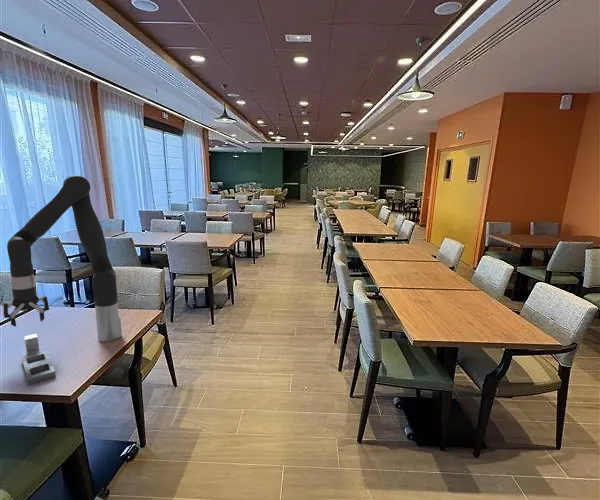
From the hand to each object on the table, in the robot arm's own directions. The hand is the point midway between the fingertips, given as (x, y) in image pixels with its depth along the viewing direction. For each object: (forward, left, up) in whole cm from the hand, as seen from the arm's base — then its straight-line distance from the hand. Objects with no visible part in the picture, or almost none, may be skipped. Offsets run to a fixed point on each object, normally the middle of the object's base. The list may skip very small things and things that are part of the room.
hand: (28, 323), depth 136 cm
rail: (0, +16, -14) cm, 21 cm away
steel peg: (0, 0, -14) cm, 14 cm away
